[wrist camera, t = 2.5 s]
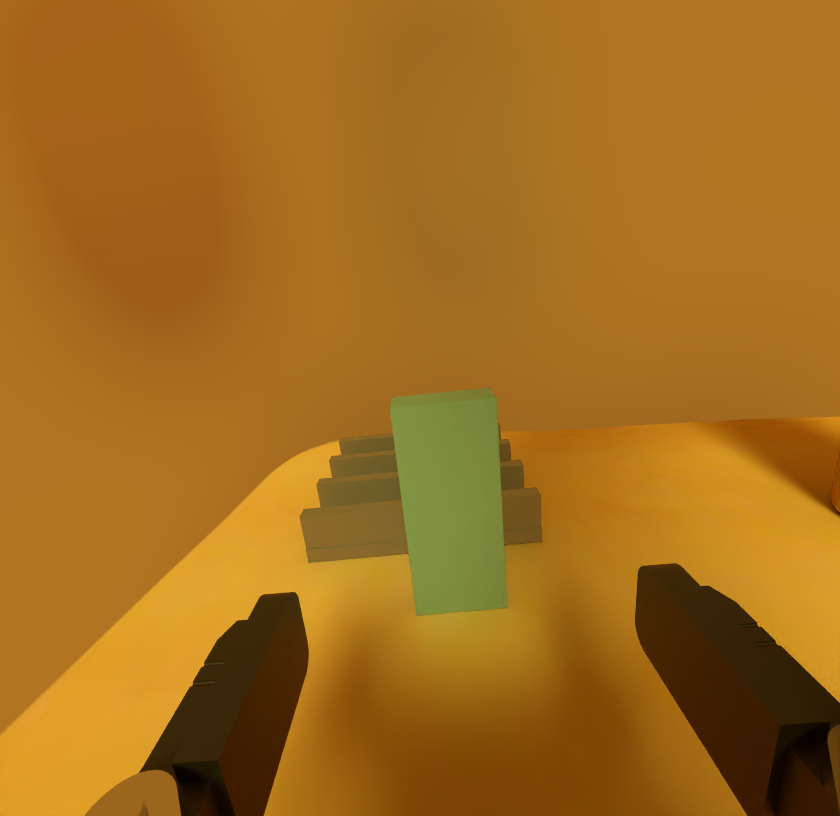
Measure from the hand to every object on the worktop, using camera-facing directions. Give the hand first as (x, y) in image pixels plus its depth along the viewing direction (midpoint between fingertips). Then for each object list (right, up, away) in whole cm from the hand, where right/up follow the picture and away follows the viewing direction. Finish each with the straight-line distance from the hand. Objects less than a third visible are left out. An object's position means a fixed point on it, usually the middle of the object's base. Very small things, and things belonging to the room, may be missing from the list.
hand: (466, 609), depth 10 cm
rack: (-1, -3, +25) cm, 25 cm away
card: (+1, -6, +14) cm, 15 cm away
